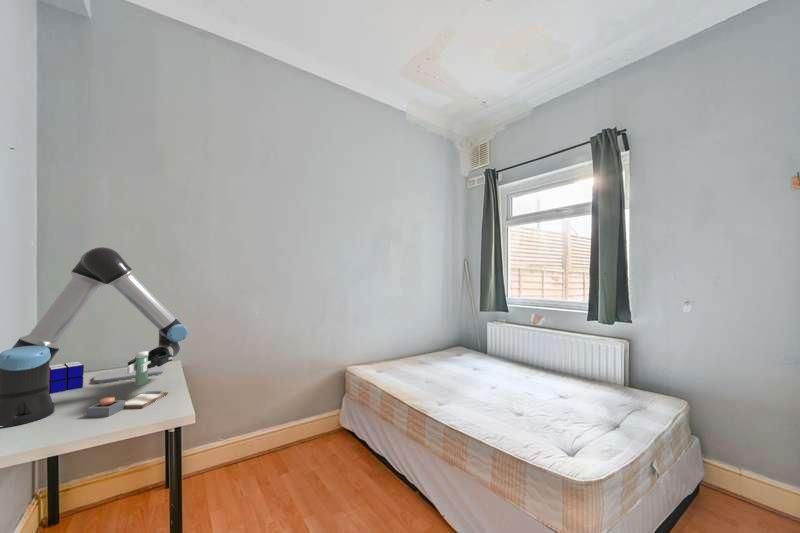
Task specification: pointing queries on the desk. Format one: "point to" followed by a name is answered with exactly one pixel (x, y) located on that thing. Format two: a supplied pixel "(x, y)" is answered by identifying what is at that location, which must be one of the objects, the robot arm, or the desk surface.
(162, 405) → the desk surface
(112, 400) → the button
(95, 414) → the button box
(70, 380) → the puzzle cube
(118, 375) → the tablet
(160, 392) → the open book
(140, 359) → the green bottle
